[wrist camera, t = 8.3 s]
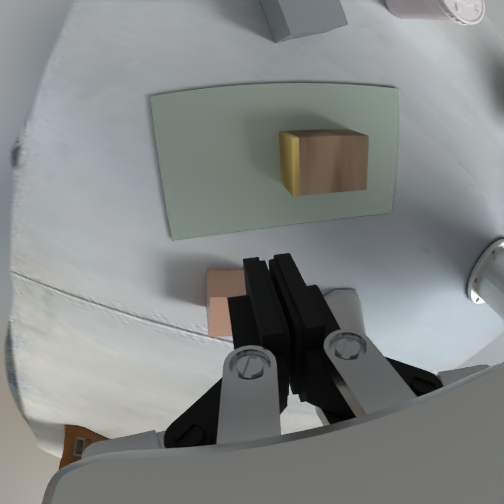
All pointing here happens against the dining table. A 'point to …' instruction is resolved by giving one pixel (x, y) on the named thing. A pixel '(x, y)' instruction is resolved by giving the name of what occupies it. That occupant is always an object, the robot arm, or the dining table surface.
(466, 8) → the smoothie
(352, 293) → the flask
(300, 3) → the slate block
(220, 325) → the terracotta block
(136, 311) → the dining table surface
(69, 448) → the pancake mix bag
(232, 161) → the rubber mat
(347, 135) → the walnut block
